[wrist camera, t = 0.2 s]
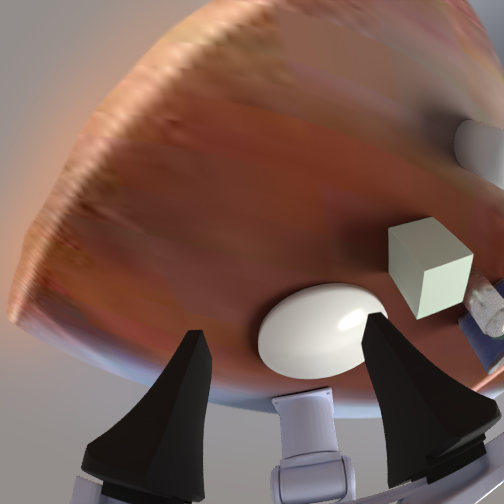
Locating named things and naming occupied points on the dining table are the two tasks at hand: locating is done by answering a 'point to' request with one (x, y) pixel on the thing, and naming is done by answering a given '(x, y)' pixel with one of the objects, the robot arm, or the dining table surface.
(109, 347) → the dining table surface
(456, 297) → the sage block
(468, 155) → the white rounded domed part
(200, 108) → the dining table surface
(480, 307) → the salt shaker
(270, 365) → the plate
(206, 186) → the dining table surface
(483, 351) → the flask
